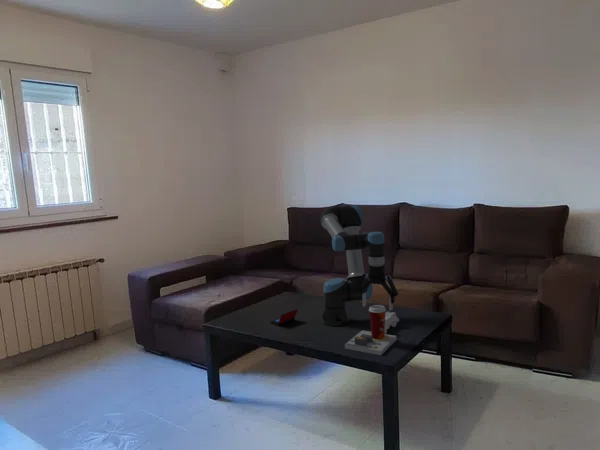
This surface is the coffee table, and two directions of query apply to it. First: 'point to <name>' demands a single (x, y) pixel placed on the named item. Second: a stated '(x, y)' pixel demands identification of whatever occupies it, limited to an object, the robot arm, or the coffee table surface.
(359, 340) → the tagged breaker
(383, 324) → the coffee cup
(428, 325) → the coffee table surface
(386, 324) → the bone shaped toy
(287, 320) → the handheld game console
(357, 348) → the panel
